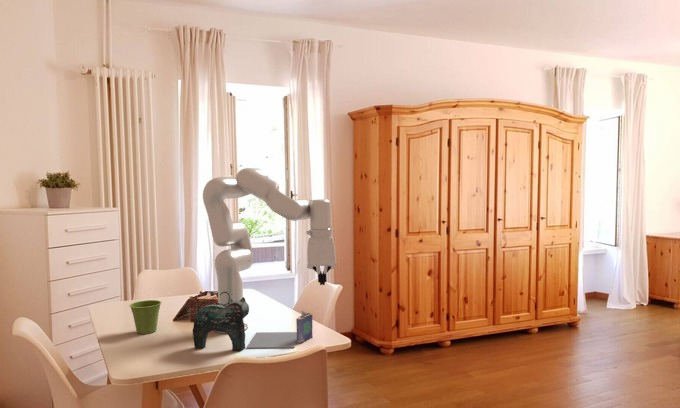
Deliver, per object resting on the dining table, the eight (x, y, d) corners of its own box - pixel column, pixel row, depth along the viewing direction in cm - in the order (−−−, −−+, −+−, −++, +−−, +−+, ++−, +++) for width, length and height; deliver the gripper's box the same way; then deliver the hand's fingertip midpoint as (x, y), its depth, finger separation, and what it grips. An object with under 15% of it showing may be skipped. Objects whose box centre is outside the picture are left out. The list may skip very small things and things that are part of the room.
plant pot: (124, 332, 196) (123, 304, 196) (153, 326, 205) (152, 298, 204) (138, 338, 188) (137, 308, 188) (168, 331, 197) (167, 302, 196)
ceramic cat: (251, 347, 174) (249, 290, 174) (243, 353, 168) (241, 294, 167) (199, 344, 179) (197, 289, 178) (189, 350, 173) (188, 292, 172)
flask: (301, 344, 177) (300, 314, 177) (294, 343, 178) (293, 313, 178) (314, 337, 185) (313, 308, 185) (307, 336, 187) (306, 307, 186)
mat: (246, 348, 173) (246, 347, 173) (256, 333, 191) (256, 332, 191) (293, 348, 173) (293, 347, 173) (299, 333, 191) (299, 331, 191)
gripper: (299, 235, 177) (300, 286, 177) (341, 234, 176) (342, 286, 177) (301, 233, 184) (302, 282, 185) (341, 232, 184) (343, 282, 184)
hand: (322, 284), depth 181 cm, fingers closed
